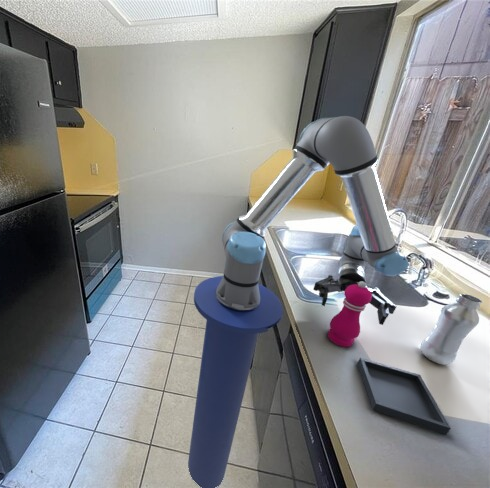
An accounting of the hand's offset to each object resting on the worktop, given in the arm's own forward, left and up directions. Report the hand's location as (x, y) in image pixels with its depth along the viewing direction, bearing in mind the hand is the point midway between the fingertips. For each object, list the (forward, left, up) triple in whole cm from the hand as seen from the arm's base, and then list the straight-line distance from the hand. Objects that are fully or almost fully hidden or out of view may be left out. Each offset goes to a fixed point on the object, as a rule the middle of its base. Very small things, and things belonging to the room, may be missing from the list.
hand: (352, 310), depth 71 cm
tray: (+14, +9, -11) cm, 20 cm away
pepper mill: (-1, 0, -11) cm, 11 cm away
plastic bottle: (-4, +23, -11) cm, 26 cm away
